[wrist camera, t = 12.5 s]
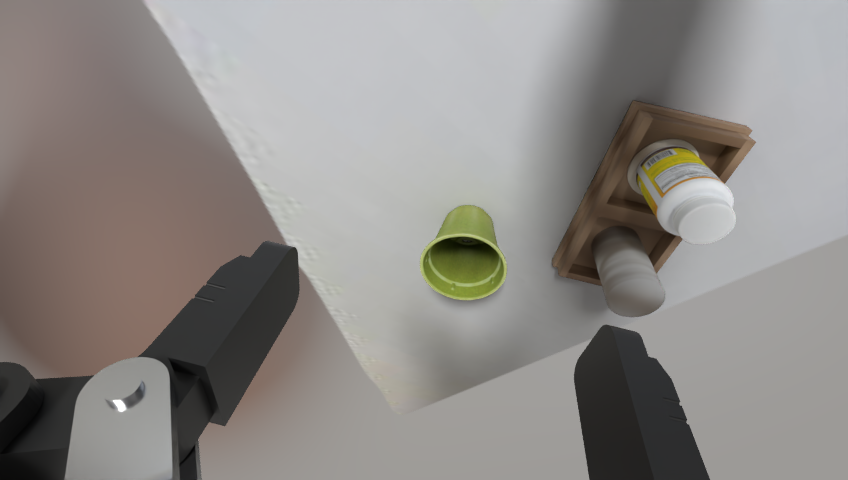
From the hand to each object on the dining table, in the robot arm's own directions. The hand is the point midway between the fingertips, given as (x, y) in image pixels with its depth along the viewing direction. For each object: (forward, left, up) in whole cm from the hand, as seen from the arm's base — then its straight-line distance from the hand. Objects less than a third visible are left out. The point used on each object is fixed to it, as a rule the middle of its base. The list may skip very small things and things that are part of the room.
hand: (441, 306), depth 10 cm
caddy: (+12, +20, -33) cm, 40 cm away
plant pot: (+20, +3, -33) cm, 39 cm away
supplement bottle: (+7, +20, -32) cm, 38 cm away
